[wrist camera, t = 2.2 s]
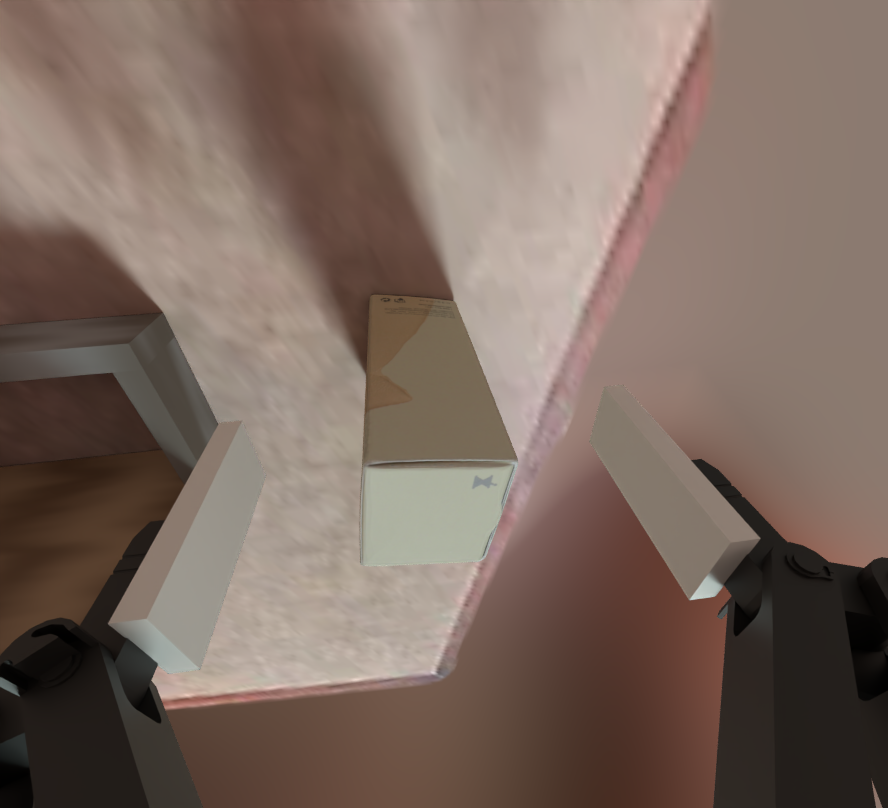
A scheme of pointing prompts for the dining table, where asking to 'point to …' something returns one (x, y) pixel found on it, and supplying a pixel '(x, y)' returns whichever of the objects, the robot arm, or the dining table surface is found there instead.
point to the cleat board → (92, 465)
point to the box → (428, 439)
